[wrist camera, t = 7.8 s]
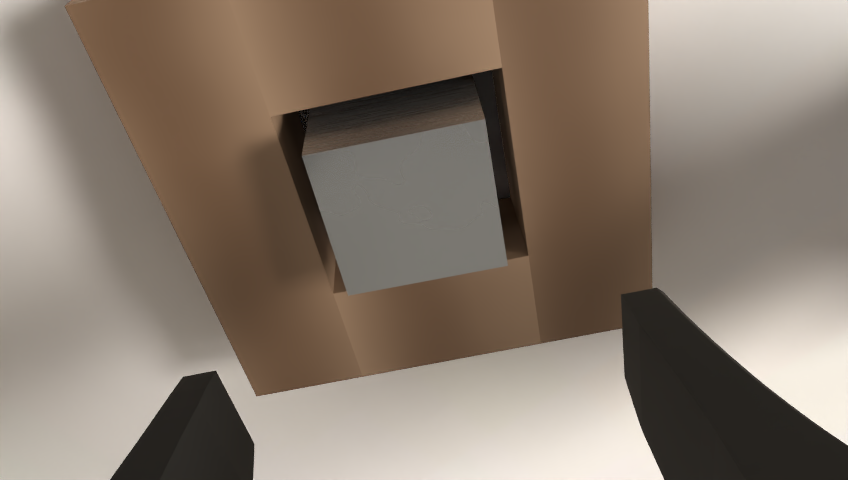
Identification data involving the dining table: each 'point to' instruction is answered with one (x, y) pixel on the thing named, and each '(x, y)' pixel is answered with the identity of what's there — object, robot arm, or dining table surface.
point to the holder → (364, 76)
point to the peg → (406, 185)
